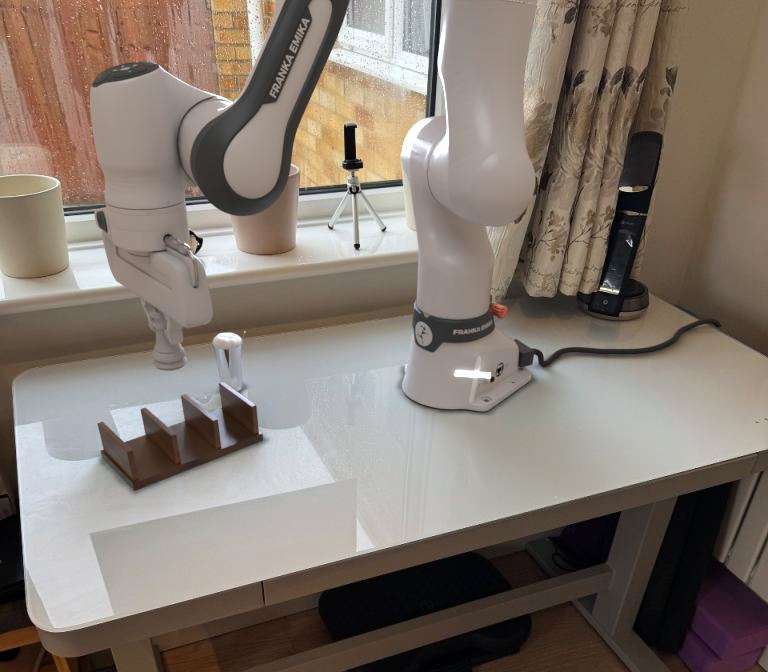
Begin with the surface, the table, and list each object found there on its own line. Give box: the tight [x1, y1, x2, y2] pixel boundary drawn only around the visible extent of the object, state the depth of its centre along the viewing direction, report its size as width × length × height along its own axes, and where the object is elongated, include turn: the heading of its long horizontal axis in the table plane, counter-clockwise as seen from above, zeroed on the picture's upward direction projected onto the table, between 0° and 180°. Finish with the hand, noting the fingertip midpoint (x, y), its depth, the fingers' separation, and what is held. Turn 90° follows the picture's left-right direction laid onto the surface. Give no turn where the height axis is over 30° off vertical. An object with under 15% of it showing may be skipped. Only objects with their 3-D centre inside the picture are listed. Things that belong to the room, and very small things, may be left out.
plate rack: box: [96, 381, 264, 491], centre depth 104 cm, size 20×10×6 cm, turn 131°
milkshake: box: [211, 332, 246, 393], centre depth 117 cm, size 4×5×10 cm
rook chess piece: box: [149, 305, 188, 372], centre depth 95 cm, size 4×4×8 cm
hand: (166, 336), depth 95 cm, fingers closed on rook chess piece, 3 cm apart
